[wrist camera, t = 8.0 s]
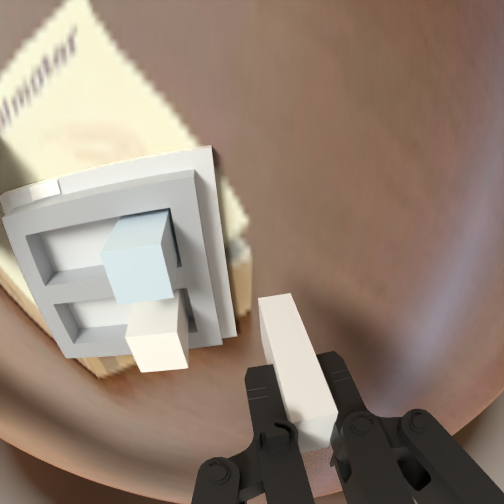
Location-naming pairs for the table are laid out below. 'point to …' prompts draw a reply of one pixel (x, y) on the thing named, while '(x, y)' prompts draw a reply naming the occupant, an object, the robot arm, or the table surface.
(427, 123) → the table surface
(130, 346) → the ivory tab
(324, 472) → the table surface
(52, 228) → the switch bank
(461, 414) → the table surface
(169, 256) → the pale blue block
